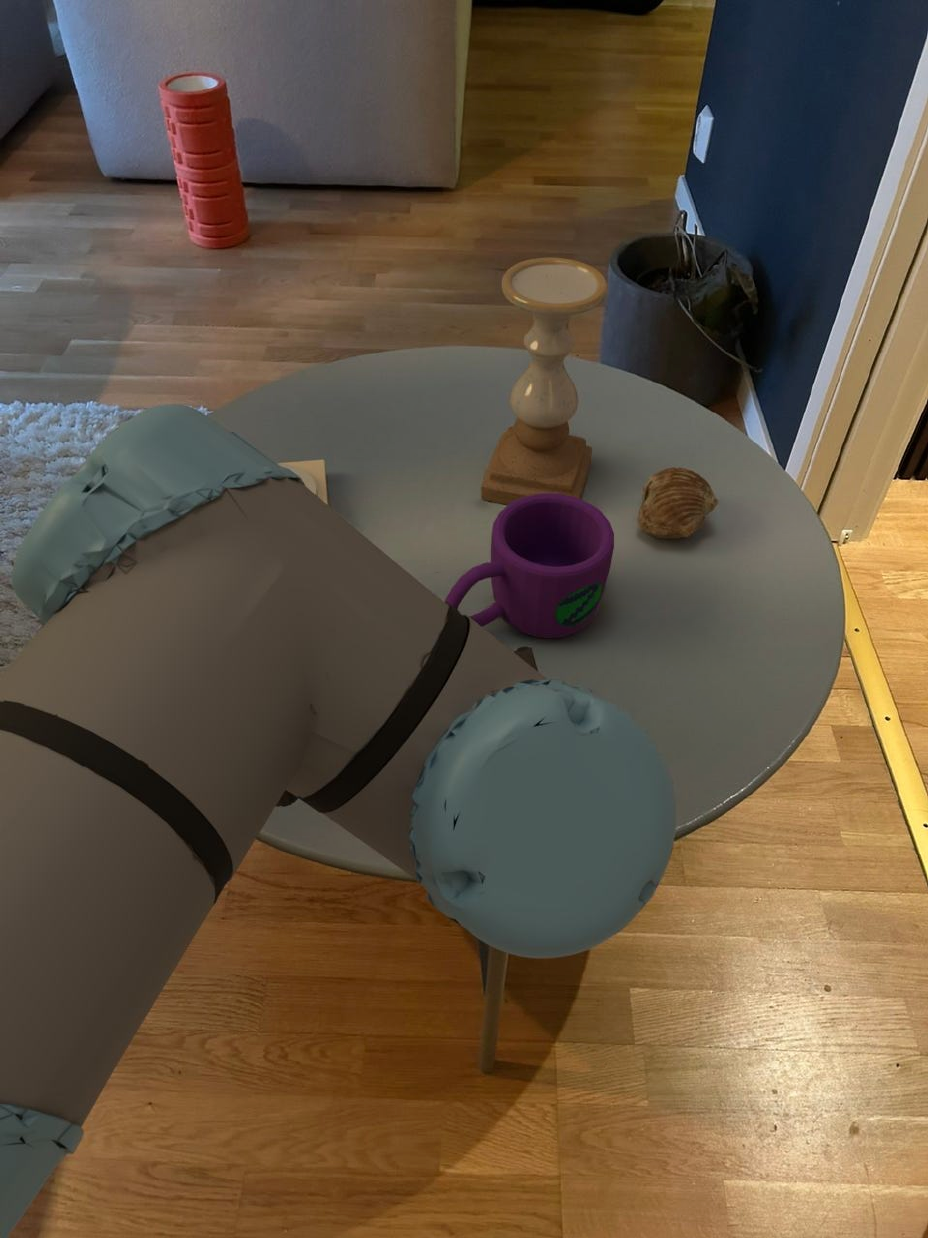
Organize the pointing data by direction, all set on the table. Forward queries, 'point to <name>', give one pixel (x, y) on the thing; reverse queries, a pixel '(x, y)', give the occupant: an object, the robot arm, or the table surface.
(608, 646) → the table surface
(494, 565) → the mug
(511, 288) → the candle holder
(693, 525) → the seashell
